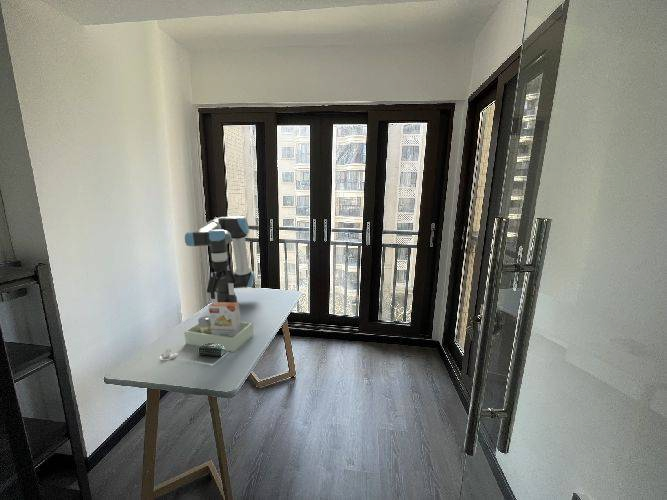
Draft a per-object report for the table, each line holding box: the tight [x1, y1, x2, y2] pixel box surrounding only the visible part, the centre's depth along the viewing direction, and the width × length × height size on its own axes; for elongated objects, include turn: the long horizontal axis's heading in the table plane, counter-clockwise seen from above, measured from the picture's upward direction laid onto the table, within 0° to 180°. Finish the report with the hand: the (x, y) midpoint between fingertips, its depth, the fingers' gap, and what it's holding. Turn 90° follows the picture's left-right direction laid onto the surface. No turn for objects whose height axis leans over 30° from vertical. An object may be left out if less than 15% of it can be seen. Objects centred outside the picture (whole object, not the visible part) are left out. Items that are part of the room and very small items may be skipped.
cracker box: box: [208, 302, 242, 338], centre depth 147 cm, size 14×6×21 cm, turn 87°
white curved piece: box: [159, 347, 179, 361], centre depth 136 cm, size 9×8×4 cm
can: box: [197, 315, 212, 335], centre depth 152 cm, size 7×7×11 cm
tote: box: [183, 321, 254, 353], centre depth 150 cm, size 18×30×8 cm, turn 74°
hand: (223, 299), depth 145 cm, fingers open, 13 cm apart
